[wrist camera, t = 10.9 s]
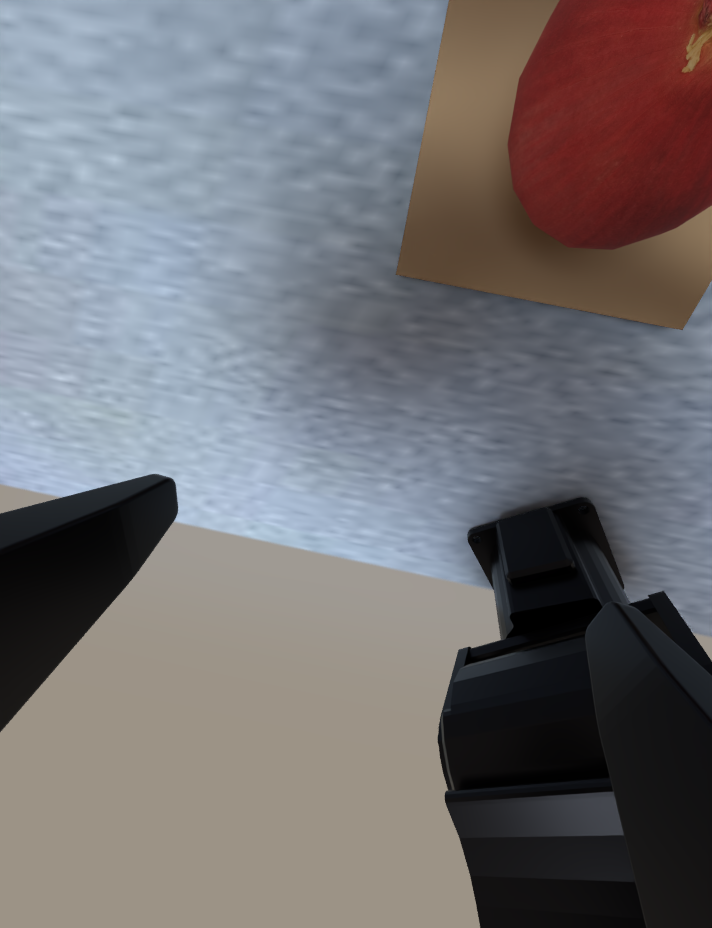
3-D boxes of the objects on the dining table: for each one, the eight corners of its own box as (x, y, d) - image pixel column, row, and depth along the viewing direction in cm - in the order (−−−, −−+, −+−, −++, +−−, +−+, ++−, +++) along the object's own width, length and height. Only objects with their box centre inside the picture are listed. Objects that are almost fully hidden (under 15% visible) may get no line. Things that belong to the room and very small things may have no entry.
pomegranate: (704, -29, 10) (1313, -738, 3) (695, 213, 12) (1027, 138, 5) (480, 88, 12) (526, -168, 5) (508, 277, 14) (567, 285, 7)
